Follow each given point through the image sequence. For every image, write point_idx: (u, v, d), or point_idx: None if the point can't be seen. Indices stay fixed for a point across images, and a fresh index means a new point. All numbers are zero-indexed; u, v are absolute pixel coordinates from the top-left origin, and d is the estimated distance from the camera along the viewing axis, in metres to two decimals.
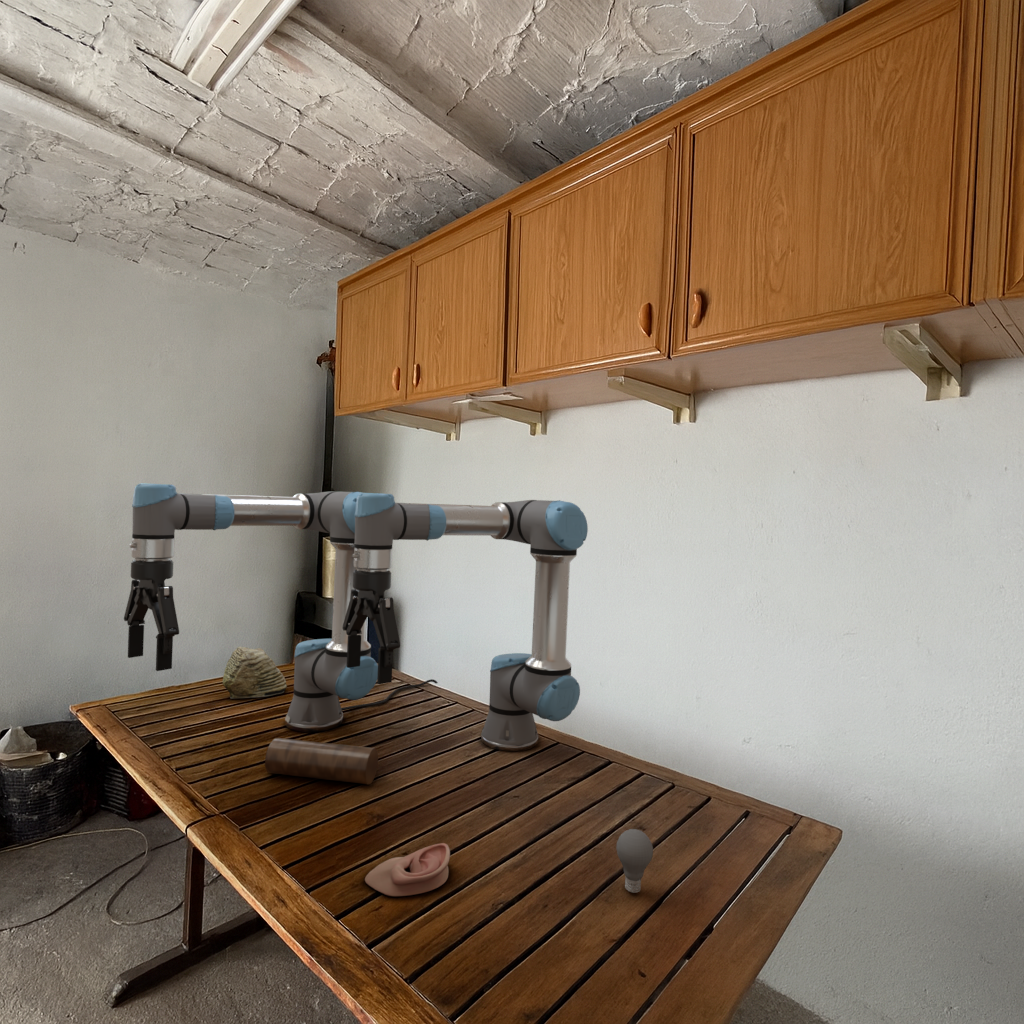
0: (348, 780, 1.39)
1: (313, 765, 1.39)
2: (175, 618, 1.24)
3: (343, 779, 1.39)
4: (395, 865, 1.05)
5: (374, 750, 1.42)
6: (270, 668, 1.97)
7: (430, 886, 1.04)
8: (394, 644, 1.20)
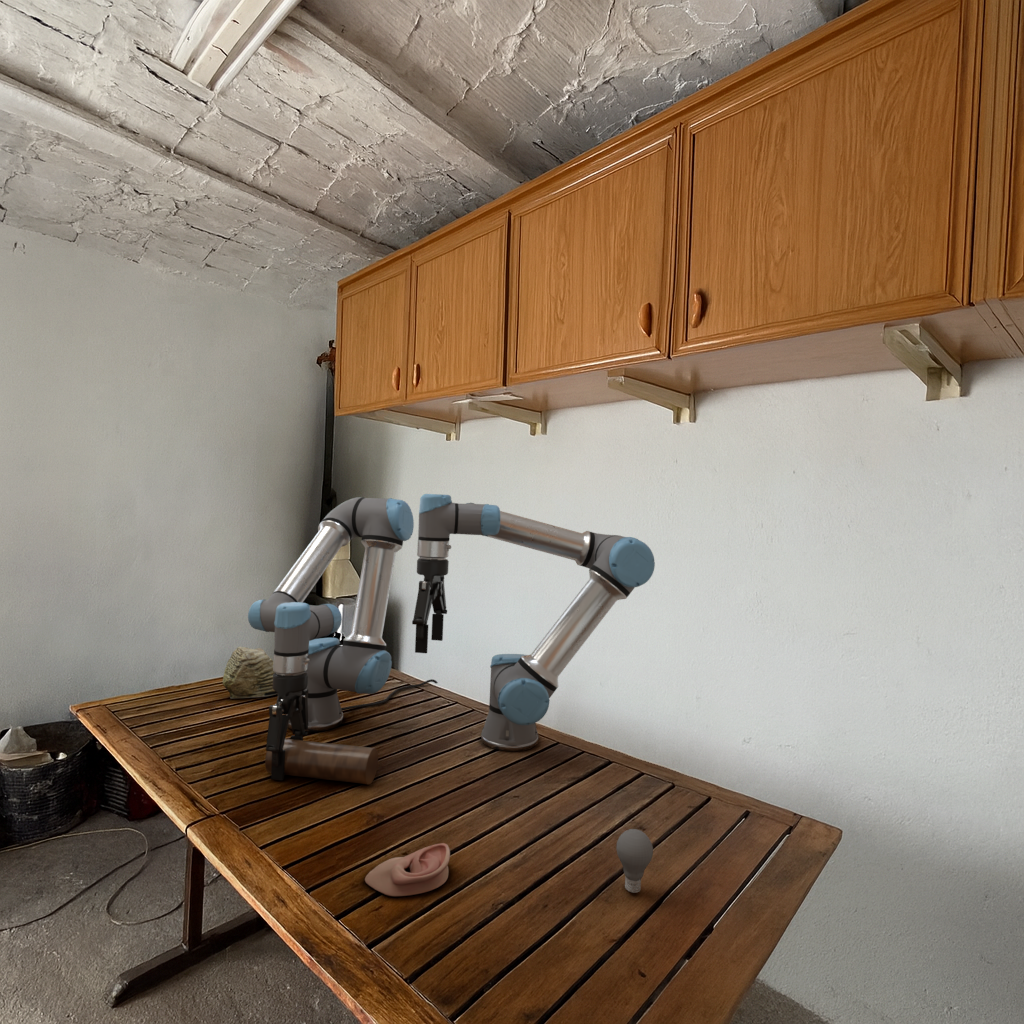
0: (348, 780, 1.39)
1: (313, 765, 1.39)
2: None
3: (343, 779, 1.39)
4: (395, 865, 1.05)
5: (374, 750, 1.42)
6: (270, 668, 1.97)
7: (430, 886, 1.04)
8: None
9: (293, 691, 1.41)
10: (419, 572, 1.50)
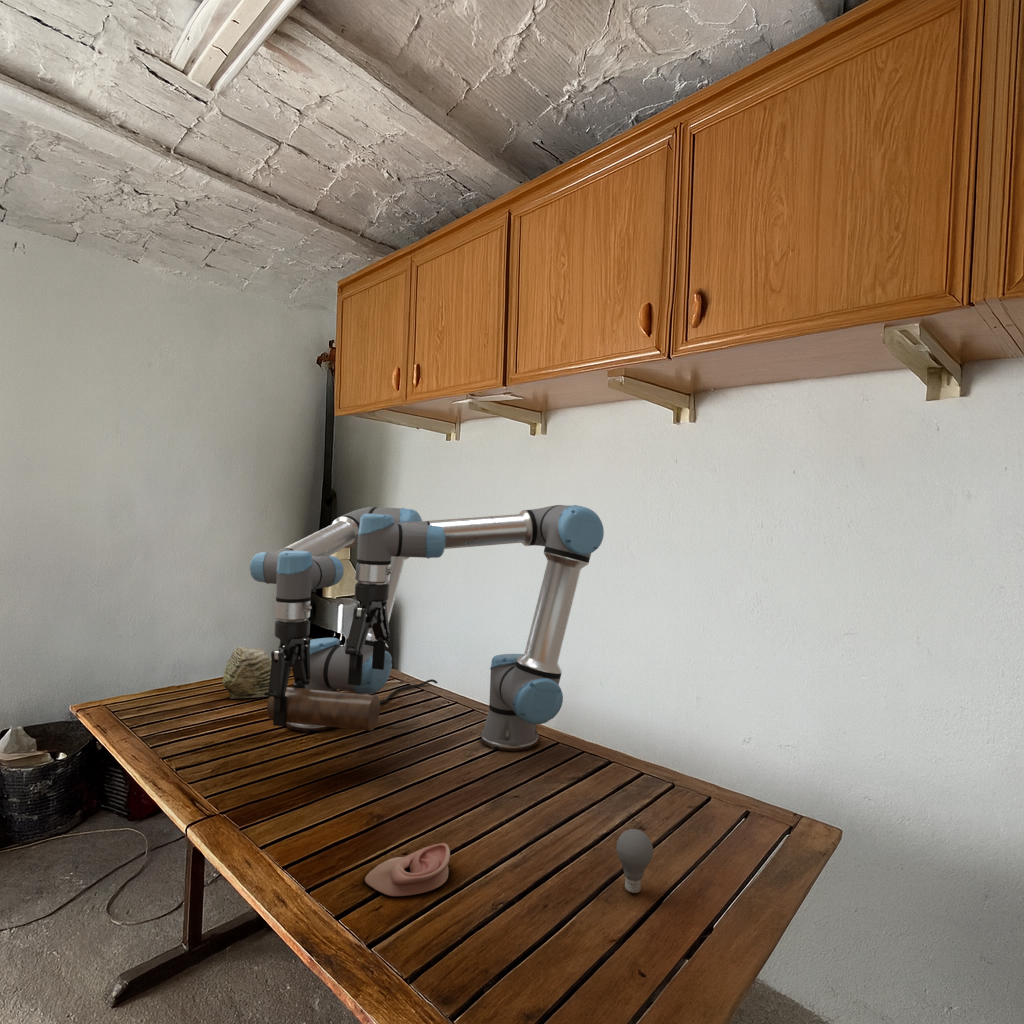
0: (350, 726, 1.39)
1: (315, 711, 1.39)
2: None
3: (345, 725, 1.39)
4: (395, 865, 1.05)
5: (376, 697, 1.42)
6: (270, 668, 1.97)
7: (430, 886, 1.04)
8: None
9: (295, 637, 1.41)
10: (356, 597, 1.40)
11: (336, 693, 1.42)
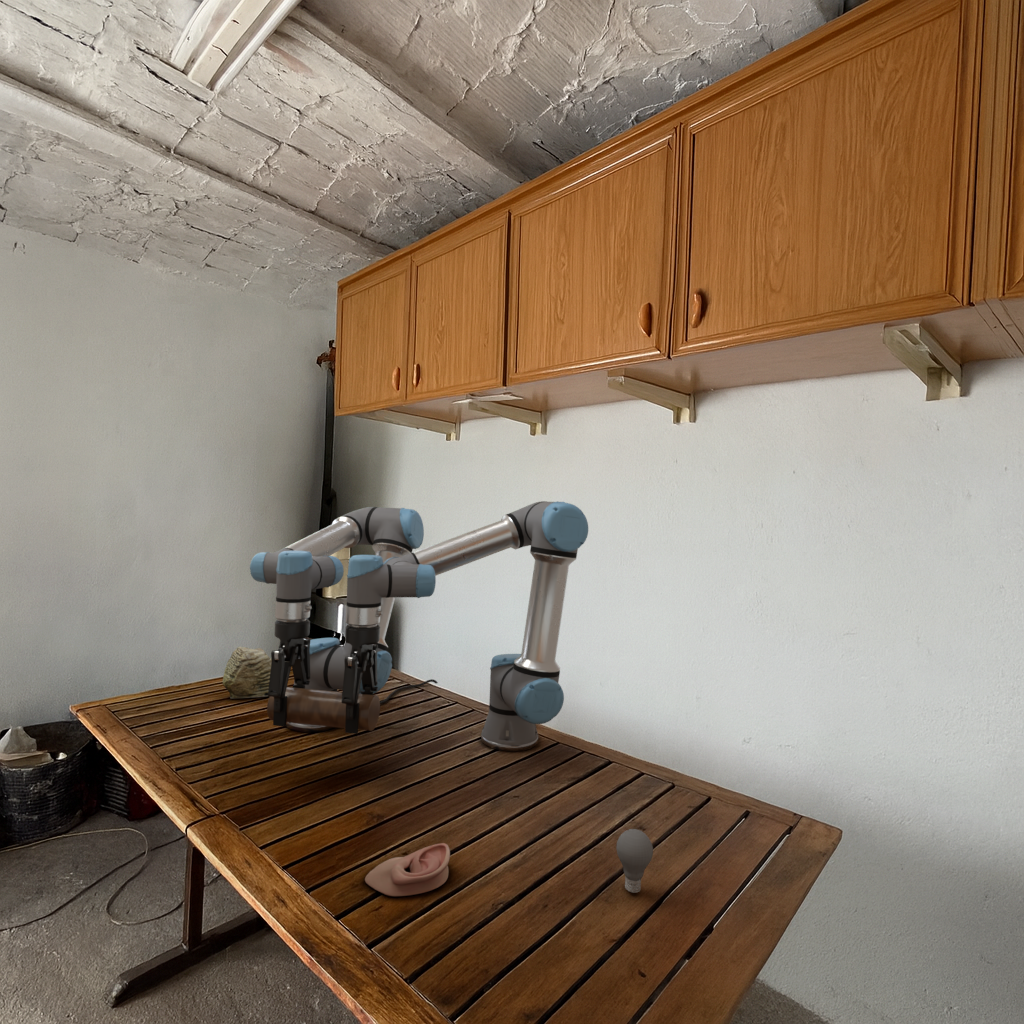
0: None
1: (315, 711, 1.39)
2: None
3: None
4: (395, 865, 1.05)
5: (376, 697, 1.42)
6: (270, 668, 1.97)
7: (430, 886, 1.04)
8: None
9: (295, 637, 1.41)
10: (347, 641, 1.39)
11: (336, 693, 1.42)
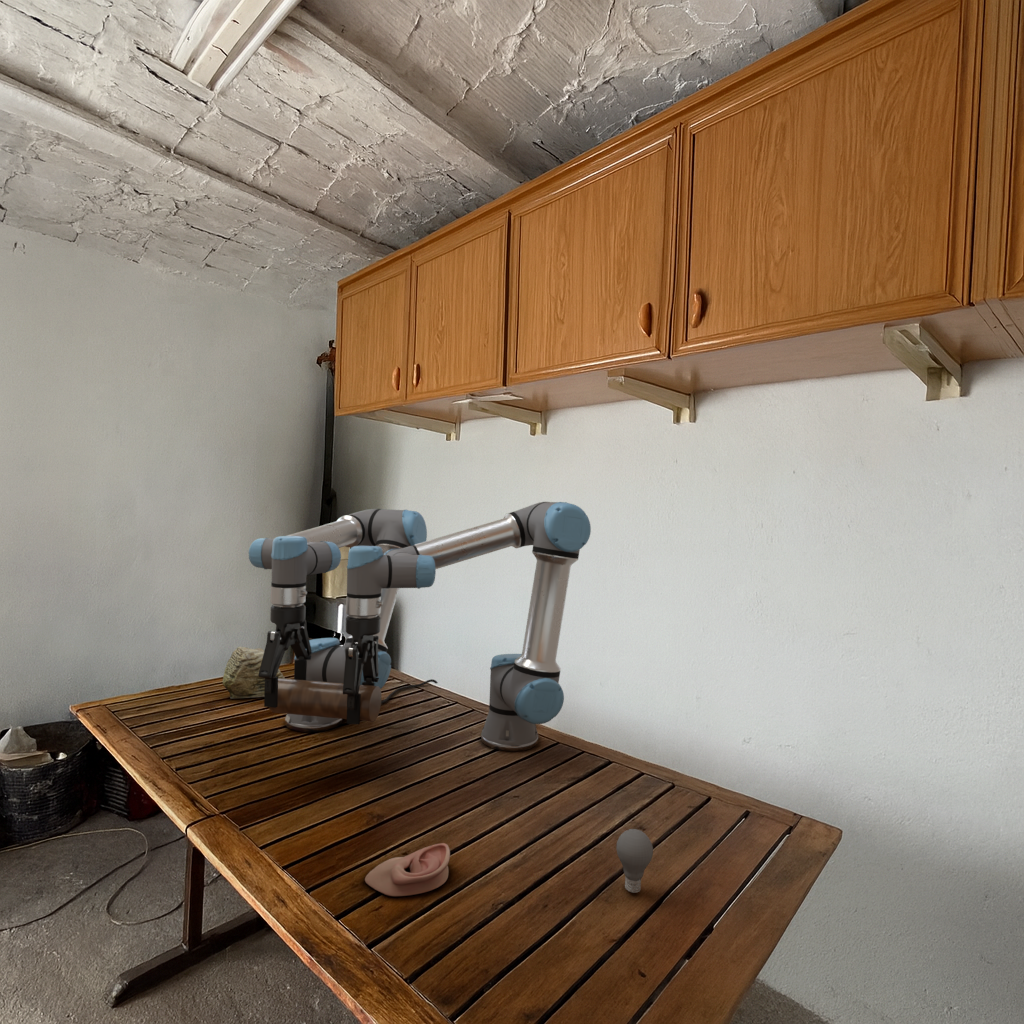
0: None
1: (317, 702, 1.39)
2: None
3: None
4: (395, 865, 1.05)
5: (377, 688, 1.42)
6: None
7: (430, 886, 1.04)
8: None
9: (291, 622, 1.41)
10: (347, 632, 1.39)
11: (337, 684, 1.42)
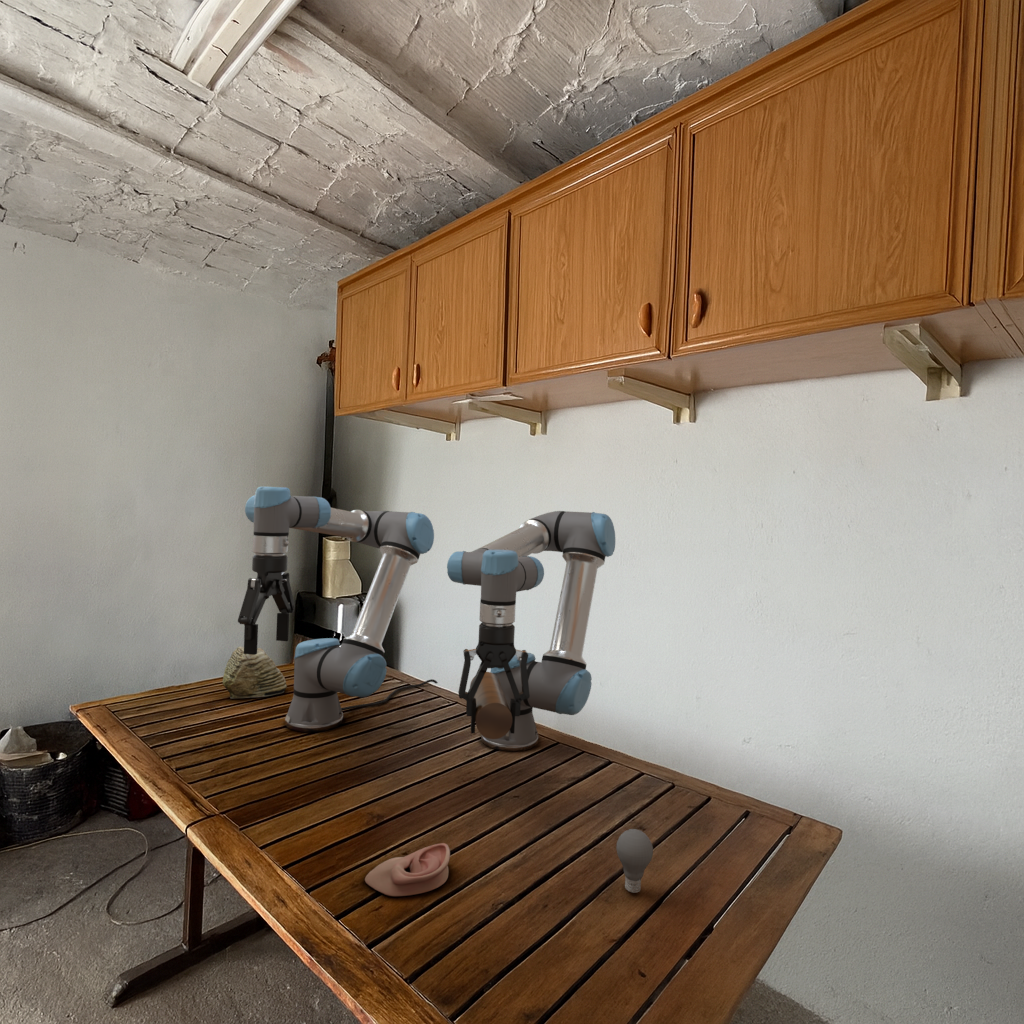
0: None
1: None
2: None
3: None
4: (395, 865, 1.05)
5: (500, 706, 1.30)
6: (270, 668, 1.97)
7: (430, 886, 1.04)
8: None
9: (272, 571, 1.41)
10: None
11: (488, 690, 1.39)
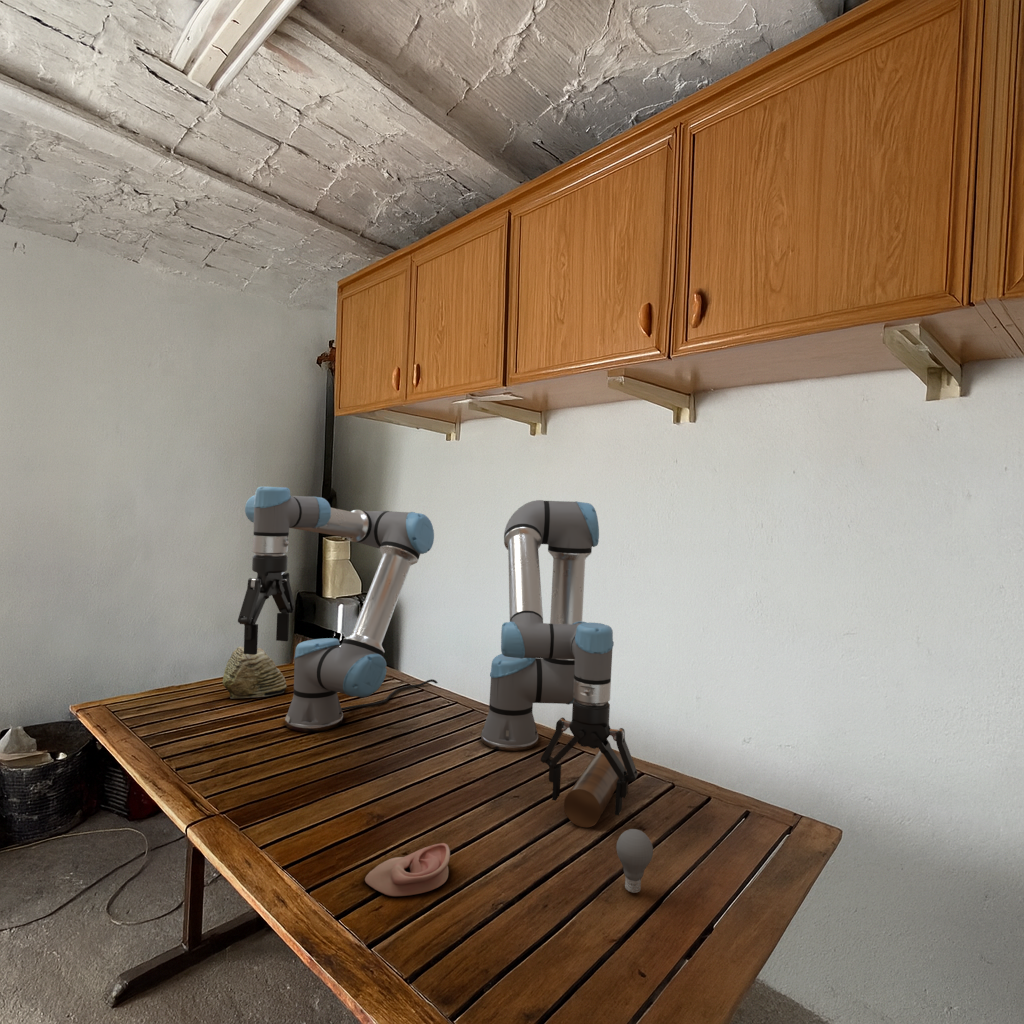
0: None
1: None
2: None
3: None
4: (395, 865, 1.05)
5: (588, 794, 1.25)
6: (270, 668, 1.97)
7: (430, 886, 1.04)
8: (636, 775, 1.25)
9: (272, 571, 1.41)
10: None
11: (592, 772, 1.34)
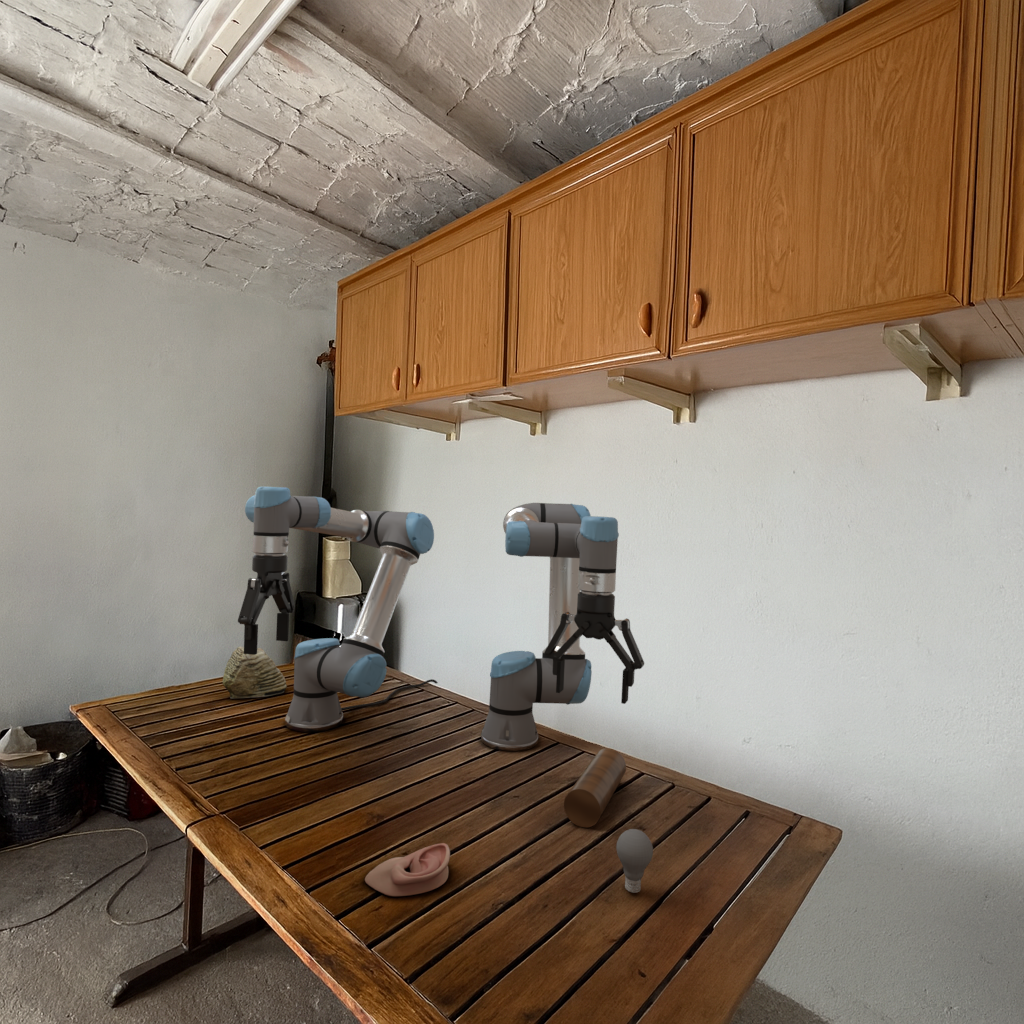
0: None
1: None
2: None
3: None
4: (395, 865, 1.05)
5: (588, 794, 1.25)
6: (270, 668, 1.97)
7: (430, 886, 1.04)
8: (642, 663, 1.25)
9: (272, 571, 1.41)
10: None
11: (592, 772, 1.34)
